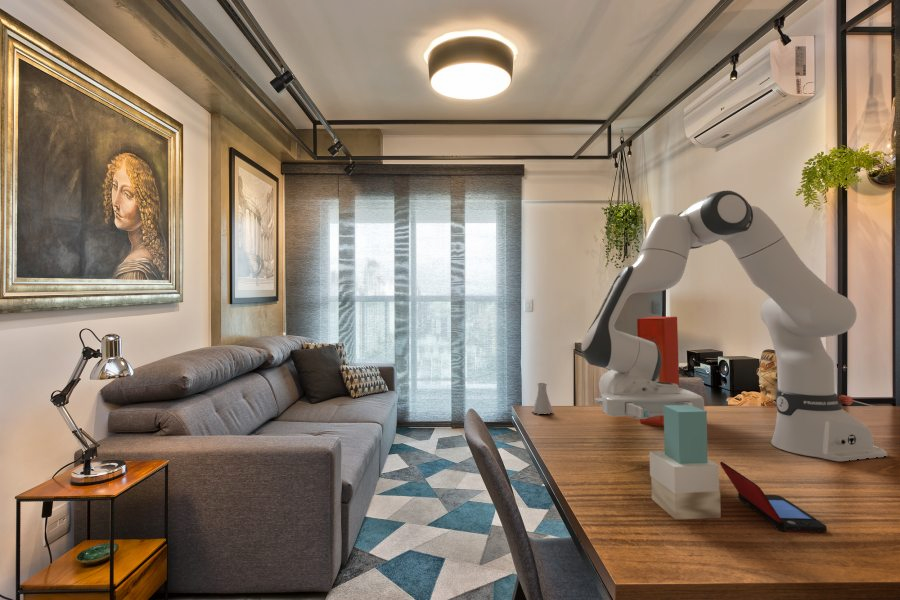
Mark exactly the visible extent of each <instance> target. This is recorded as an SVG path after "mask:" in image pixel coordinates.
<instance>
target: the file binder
mask: <svg viewBox="0 0 900 600" xmlns="http://www.w3.org/2000/svg"><path fill="white" fill-rule="evenodd" d="M636 329H637V330H636V333H637V334H636V335H637V337H640V338H643V339H646V340H649V341H651V342H654V343H655V344H656V345H657V347H658V348H659V351H660V354H661V358H662V366H661V370H660V373H659V375H658V377H657V379H656V381H655V382H666V383H674V384H677V385H678V386H679V387H680V370H679V369H680V368H679V367H680V363H679V361H680V360H679V333H678V316H649V317H640V318H636ZM639 422H640V424H645V425H651V426H652V425H653V426H658V427H664V415H661V416H653V417H649V418H646V419H639Z"/></svg>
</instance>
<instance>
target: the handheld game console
mask: <svg viewBox="0 0 900 600" xmlns="http://www.w3.org/2000/svg"><path fill="white" fill-rule="evenodd" d="M719 466H720V467H721V468H722V469H723V471H724V473H725V474H726V475H727V477H728V479H729V480H730V482H731V483H732V485H733V487H734V488H735V489H736V492H737V493H738V494H737V498H738V500H739V501H740V502H742V503H744V504H745V505H746V506H747V505H748V507H749V508H750V509H751V508H752V510H753V511H755V510H756V511H755V512H757V513H759V514H760V515H761V514H762V515H761V516H762V518H763V519H764V520H765V521H766V522H767V523H770V525H772V526H774V528H775V529H777V530H778V531H780V532H782V533H787V532H788V533H789V532H791V533H793V532H795V533H796V532H797V533H819V532H820V533H821V534H822V533H823V534H824V533H826V532H827V531H828V529H827V528H828V527H827V525H826V524H825V523H823V522H821V521H820V520H818V519H817V518H816V517H814V516H813V515H812V514H809V513H808V512H806V511H805V510H804V509H802V508H800V507H799V506H797V505H795V504H794V503H793V502H791V501H790V500H788V499H786V498H785V497H783V496H781V495H777V494H765V492H764V491H763V490H762V488H761V487H760V486H759V485H757V484H756V482H754V481H752V480H750V479H749V478H747V477H746V476H744V475H743V474H741V473H740V472H738V471H737V470H735V469H734V468H732V467H731V466H730V465H728V464H726V463H725V462H724V461H721V462H720V463H719ZM820 533H819V534H820Z"/></svg>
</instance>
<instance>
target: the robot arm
mask: <svg viewBox="0 0 900 600" xmlns="http://www.w3.org/2000/svg"><path fill="white" fill-rule="evenodd" d="M720 240H721V241H722V242H725V243H726V244H727V245H728V246H729V247H730V250H731V252H732V253H733V254H734V256H735V258H736V259H737V261H738V263H739V264H740V265H741V267H742V269H743V270H744V272H745V274H746V275H747V276H748V278H749V279H750V281H751V283H752V284H753V285H754V286H755V287H757V288H759V289H760V290H761V291H762V292H764V293H765V294H766V295H767V296H768V297H769V298H767V299H766V300H764V302H763V303H762V305H761V307H760V311H759V312H760V314H759V315H760V317H761V320H762V322H763V323H764V325H765V326H766V327H767V329H768V330H767V331H768V332H769V335H770V339H771V342H772V346H773V349H774V353H775V358H776V359H775V360H776V372H777V375H776V376H777V388H776V389H775V403H776V404H775V406H776V410H777V412H776V422H775V426H774V427H775V428H774V433H773V436H772V438H771V440H770V443H771V445H772V446H774V447H775V448H778V449H780V450H783V451H785V452H789V453H793V454H797V455H801V456H808V457H815V458H821V459H825V460H827V461H828V460H829V461H835V462H846V461H847V462H849V460H850V461H858V460H857V459H859V460H865V459H866V458H869V459H875V458H876V457H878V458H884V456H886V457H888V452H887V451H886V449H883V448H881V447H880V446H877V445H874V439H873V434H872V432H871V430H870V428H869V427H868V426H867V424H865V423H863V422H861V421H860V420H859V419H858V418H855V417H854V416H853V415H851V414H850V413H849V412H848V411H846V410H844V408H843V405H842V404H845V405H848V406H850V405H852V404H853V403H854V399H853V398H852V396H850V395H849V396H848V395H844V394H841V395H838V394H837V393H836V391H835V389H836V388H835V387H836V386H835V364H834V363H835V362H834V360H833V359H832V357H831V356H830V355H829V354H828V352H827V351H826V348H825V347H824V344H823V341H822V338H827V337H828V338H829V337H833V336H838V335H842V334H844V333H847V332H848V331H849V330H851V329H852V328H853V326H854V324H855V323H856V321H857V309H856V307H855V305H854V303H853V301H851V300H850V299H849V298H848V297H846V296H845V295H842V294H840V293H838V292H837V291H835V290H834V289H832V288H831V287H829V286H828V284H826V283H825V282H824V281H823V280H822V279H821V278H820V277H818V275H816V274H815V273H814V272H813V271H812V270H811V269H810V268H809V267H807V265H806V264H805V263H804V261H802V259H801V258H800V256H798V255H799V254H798V253H797V252H796V251H795V250H794V248H793V247H792V245H791V244H790V242H789V241H788V239H787V238H786V236H785V235H784V234H783V232H782V231H781V229H780V228H779V227H778V225H777V224H776V223H775V221H774V220H773V219H772V218H771V217H770V216H769V215H768V214H767V213H766V212H765V211H764V210H763V209H761V208H760V207H758V206H755V205H751V204H750V203H749V202H748V200H747V199H746V198H745V197H743V196H742V195H741V194H739V193H738V192H735V191H732V190H721V191H716V192H714V193H711V194H709V195H707V196H706V197H703V198H701V199H699V200H697V201H695V202H694V203H692V204H691V205H690V206H688V208H686V209H685V210H682V211H681V212H679V213H678V214H675V213H667V214H662V215H659V216H657V217H656V218H655V219H653V221H652V222H651V225H650V226H649V228H648V230H647V232H646V233H645V236H644V238H643V242H642V245H641V247H640V251H639V253H638V256H637V259H636V260H635V261H634V263H633V264H632V265H629V266H625V267H624V268H622V269H621V271H620V272H619V273H618V274H617V276H616V278H615V279H614V281H613V283H612V285H611V286H610V288H609V291H608V293H607V294H606V296H605V298H604V300H603V301H602V304H601V307H600V308H599V310H598V312H597V314H596V316H595V318H594V320H593V321H592V323H591V325H590V326H589V328H588V330H587V332H586V334H585V335H584V336H583V339H582V342H581V345H580V346H581V347H580V351H581V354H582V356H583V358H584V359H585V361H586V362H587V363H588V364H589V365H591V366H595V367H598V368H603V369H608V371H605V373H603V374H602V375H601V377H599V382H598V387H599V392H600V394H601V396H599V397H596V398H594V401H595V403H596V404H597V405H601V410H602V411H603V413H604V414H606V416H609V417H631V418H634V419H637V420H640V419H646V418H649V417H653V416H661V415H664V405H692V406H694V407H697V408H699V409H702V410H704V411H705V399H704V397H703V396H702V395H700V394H697V393H696V392H693V391H692V390H689V389H686V388H682V387H680V385H679V386H678V385H677V384H674V383H666V382H655V381H656V379H657V377H658V375H659V373H660V370H661V366H662V358H661V354H660V351H659V348H658V347H657V345H656V344H655V343H654V342H651V341H649V340H646V339H643V338H640V337H637V336H635V335H632V334H630V333H627V332H624V331H622V330H617V329H616V327H615V324H616V322H617V320H618V318H619V316H620V314H621V312H622V310H623V308H624V306H625V304H626V302H627V300H628V298H630V296H631V295H633V294H637V293H655V292H656V293H657V292H661V291H662V292H663V291H666V290H669V289H671V288H673V287H674V286H676V285H677V284H678V283H679V282H681V279H682V278H683V275H684V272H685V270H686V266H687V263H688V259H689V254H690V250H691V249H692V250H694V249H699V248H701V247H704V246H707V245H711V244H714V243H717V242H718V241H720ZM876 459H877V458H876ZM866 460H867V459H866Z"/></svg>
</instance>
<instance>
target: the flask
mask: <svg viewBox="0 0 900 600" xmlns="http://www.w3.org/2000/svg"><path fill="white" fill-rule="evenodd" d="M536 384H537V394H536V395H537V396H536V398H535V401H534V404H533V407H535V408H533V407H532V411H533V412H534V413H542V414H544V413H552V412H554V410H553V406H552V405H551V402H550V398H549V396H548V392H547V385H548V384H547V382H537V383H536ZM532 411H531V412H532ZM534 413H533V414H534ZM552 414H553V413H552Z"/></svg>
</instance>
